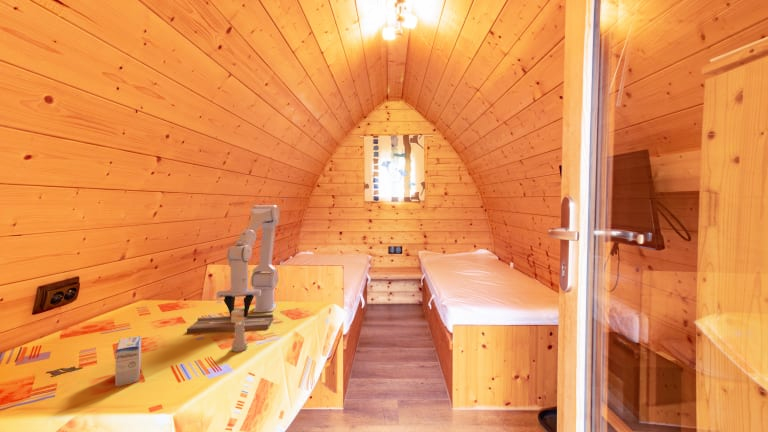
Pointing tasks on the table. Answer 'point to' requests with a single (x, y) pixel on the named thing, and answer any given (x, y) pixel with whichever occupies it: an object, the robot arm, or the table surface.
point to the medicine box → (128, 361)
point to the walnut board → (225, 323)
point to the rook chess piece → (239, 337)
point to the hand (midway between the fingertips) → (239, 316)
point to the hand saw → (57, 372)
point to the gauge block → (238, 315)
